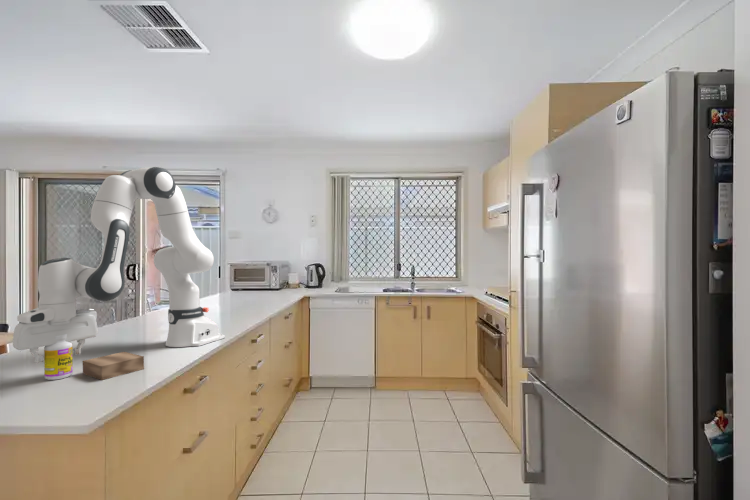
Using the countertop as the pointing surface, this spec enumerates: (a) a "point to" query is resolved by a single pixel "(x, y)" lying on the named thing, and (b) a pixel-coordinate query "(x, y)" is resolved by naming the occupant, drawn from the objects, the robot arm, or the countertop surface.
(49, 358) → the supplement bottle
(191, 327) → the robot arm
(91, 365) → the walnut base
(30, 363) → the countertop surface
